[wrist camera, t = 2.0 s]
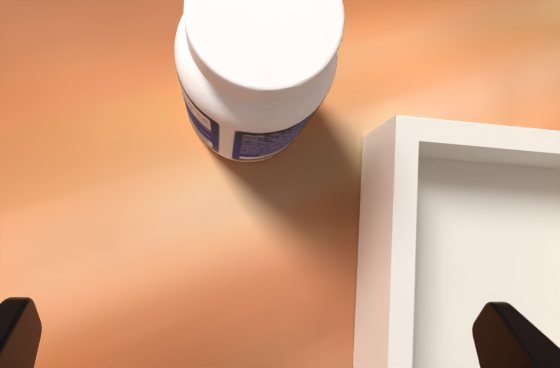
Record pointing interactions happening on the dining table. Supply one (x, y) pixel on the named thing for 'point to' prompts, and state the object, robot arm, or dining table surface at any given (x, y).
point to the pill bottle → (256, 70)
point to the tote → (453, 237)
